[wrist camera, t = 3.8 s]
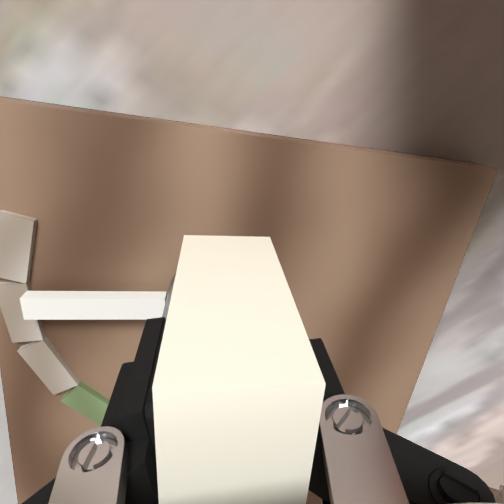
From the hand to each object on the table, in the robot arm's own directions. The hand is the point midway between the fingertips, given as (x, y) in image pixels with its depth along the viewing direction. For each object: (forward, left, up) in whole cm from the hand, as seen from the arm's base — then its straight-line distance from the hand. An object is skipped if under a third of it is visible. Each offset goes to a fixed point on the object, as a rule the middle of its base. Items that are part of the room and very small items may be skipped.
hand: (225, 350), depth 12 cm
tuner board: (0, +4, -5) cm, 7 cm away
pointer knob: (+3, 0, -4) cm, 4 cm away
